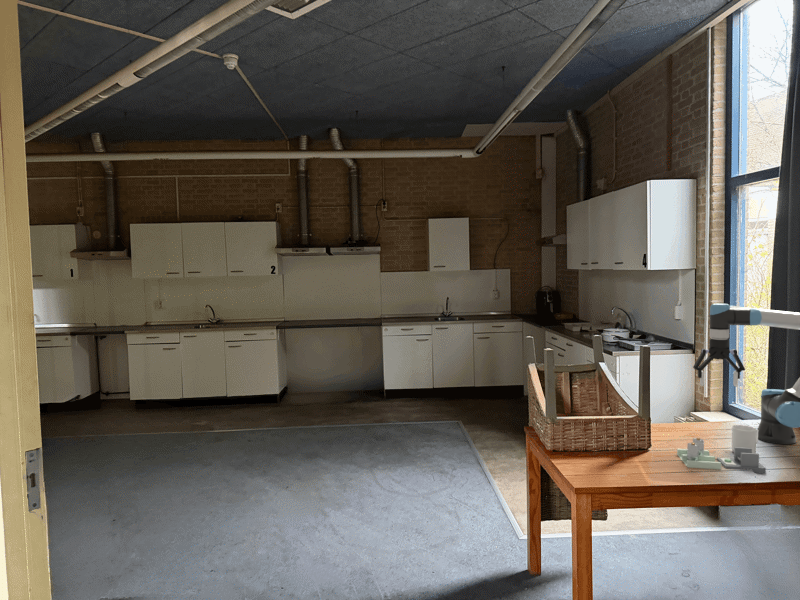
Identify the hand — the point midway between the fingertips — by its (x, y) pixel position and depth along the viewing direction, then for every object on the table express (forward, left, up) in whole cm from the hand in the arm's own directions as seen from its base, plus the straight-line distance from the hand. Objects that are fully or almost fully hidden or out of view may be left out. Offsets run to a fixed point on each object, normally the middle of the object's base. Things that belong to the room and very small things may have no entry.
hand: (718, 385), depth 242 cm
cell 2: (+15, +25, -26) cm, 39 cm away
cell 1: (+19, +31, -26) cm, 45 cm away
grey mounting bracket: (+1, +29, -27) cm, 39 cm away
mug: (-8, +10, -27) cm, 30 cm away
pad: (-1, +29, -24) cm, 37 cm away
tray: (+16, +28, -27) cm, 42 cm away
